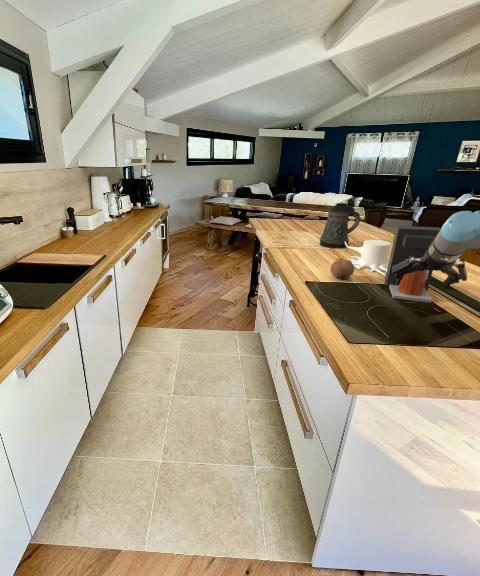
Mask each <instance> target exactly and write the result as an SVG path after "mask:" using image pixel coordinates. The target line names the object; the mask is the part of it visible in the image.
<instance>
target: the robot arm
mask: <svg viewBox="0 0 480 576" xmlns="http://www.w3.org/2000/svg"><path fill="white" fill-rule="evenodd" d="M440 228H441V230H440V232H439V233H438V235H437V236H436V238H435V239H434V241H433V242H432V244H431V245H430V247H429V248H428V250H427V251H426V253H425V255H424V257H422V258H420V259H418V258H415V256H410V257H409V258H408V259H407V260H405V261H403V262H401V263H399V264H397V265H395V266H393V267H392V274H395V278H396V285H399V283H400V282H401V280H402V278H403V277H404V275H405V274H408V273H412V272H416V271H424V270H433V271H436V272H439V271H440V272H441V273H442V274H445V275H447V277H446V278H445V280H444V281H443V282H442V290H444V291H446V290H447V289H448V288H449V287H450V286H451V285H455V284H459V283H460V280H461V281H463V282H467V281H468V272H467V269H466V260H465V258H461V259H459V258H460V257H461V255H463V254H464V253H465V251H466V250H468V249H470V250H480V210H476V211H474V212H473V211H471V210H461V211H457V212H455V213H453V214H452V215H450V216H449V218H448V219H447V220H446V221H445V222H444V223H443V225H442V226H441V227H440ZM458 259H459V260H458ZM453 267H455V268H456V269H457V270H455V268H453Z"/></svg>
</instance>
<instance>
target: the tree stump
mask: <svg viewBox="0 0 480 576" xmlns="http://www.w3.org/2000/svg"><path fill="white" fill-rule="evenodd" d="M345 245H346V247H345V248H347V249H349V250H353V251H355V252H357V253H358V254H360V256H356V255H355V256H354V255H351V258H350V259H348V260H349V261H351V262H352V264H353V266H354V269H357V270H361V269H363V268H364V269H365V268H370V270H369V272H370V273H372V272H377V273H378V274H380V275H383V276H385V277H386V273H387V268H388V264H389V260H388V259H389V254H390V251H391V250H390V249H391V246H392V243H391V242H389V241H386V240H382V239H380V240H379V239H366V240H364V241H363V245H362V246H361V247H358V246H357V247H356V246H349V244H348V245H347V243H346V241H345ZM384 272H385V273H384Z"/></svg>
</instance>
